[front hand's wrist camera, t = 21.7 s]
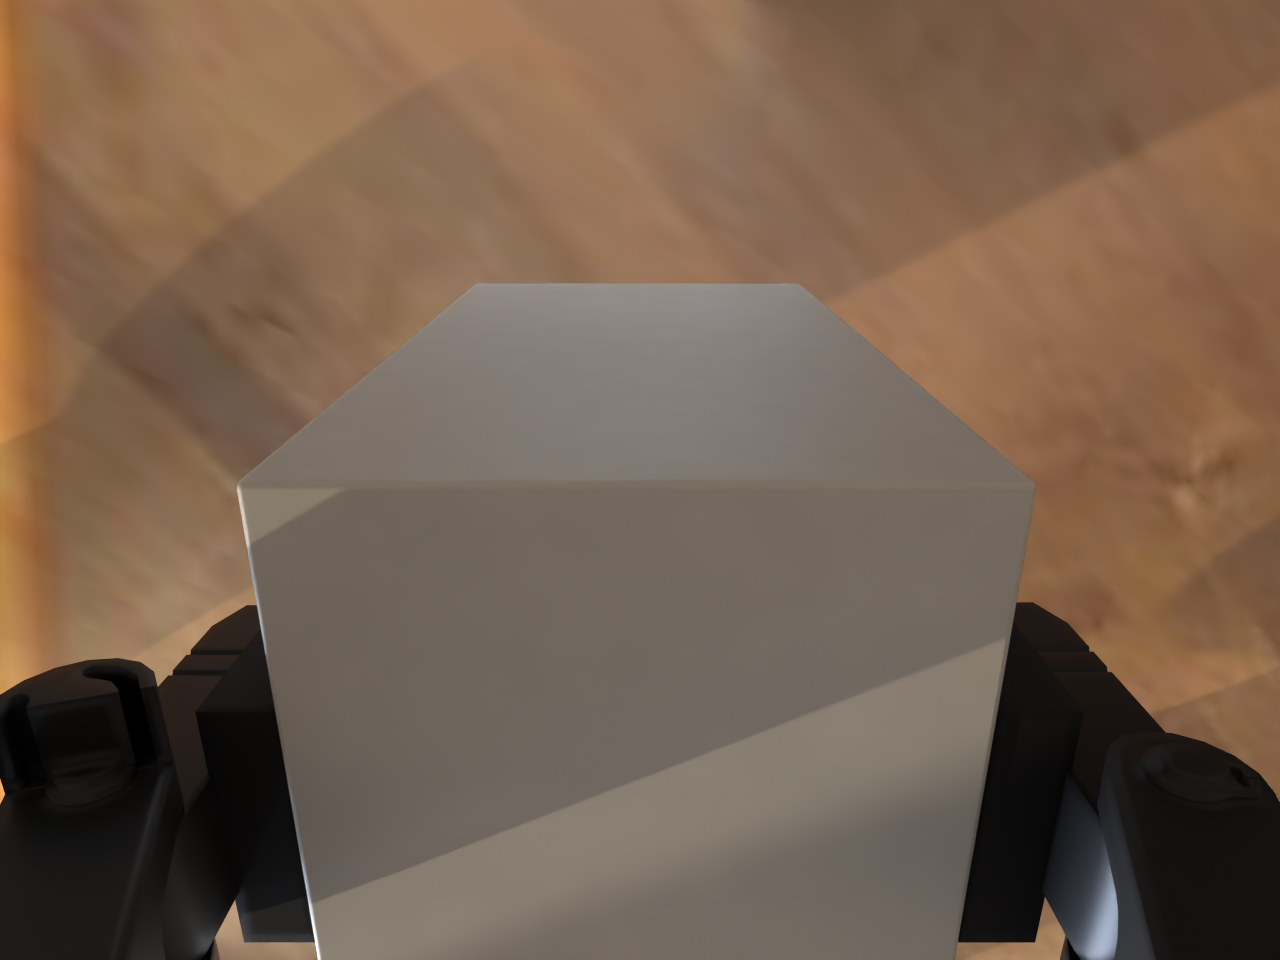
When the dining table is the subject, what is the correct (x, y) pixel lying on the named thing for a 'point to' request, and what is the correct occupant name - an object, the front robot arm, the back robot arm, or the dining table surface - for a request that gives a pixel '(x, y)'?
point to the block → (636, 634)
